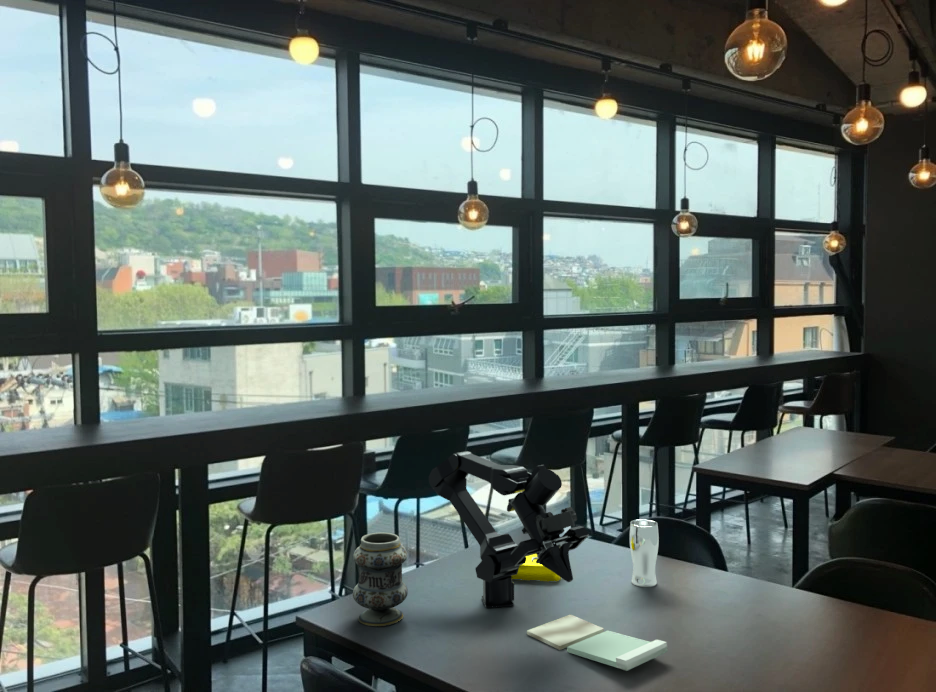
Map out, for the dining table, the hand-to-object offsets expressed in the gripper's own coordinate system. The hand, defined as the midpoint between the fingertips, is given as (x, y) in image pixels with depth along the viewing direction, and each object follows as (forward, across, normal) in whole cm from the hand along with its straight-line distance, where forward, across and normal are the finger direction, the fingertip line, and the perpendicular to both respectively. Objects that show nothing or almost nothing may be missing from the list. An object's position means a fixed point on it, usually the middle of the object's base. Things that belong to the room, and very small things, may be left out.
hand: (570, 581), depth 154 cm
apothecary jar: (-15, -25, +32) cm, 44 cm away
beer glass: (+2, +36, +15) cm, 39 cm away
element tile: (-15, +21, +33) cm, 42 cm away
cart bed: (+7, 0, +9) cm, 12 cm away
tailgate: (+11, 0, +5) cm, 12 cm away
